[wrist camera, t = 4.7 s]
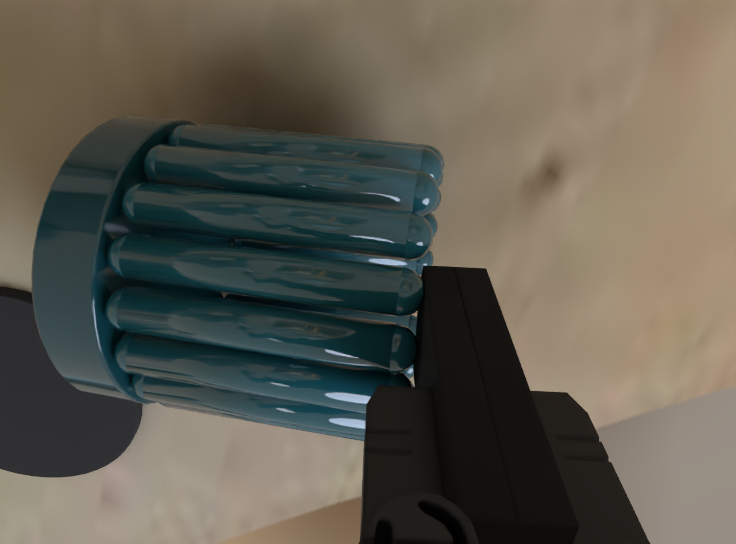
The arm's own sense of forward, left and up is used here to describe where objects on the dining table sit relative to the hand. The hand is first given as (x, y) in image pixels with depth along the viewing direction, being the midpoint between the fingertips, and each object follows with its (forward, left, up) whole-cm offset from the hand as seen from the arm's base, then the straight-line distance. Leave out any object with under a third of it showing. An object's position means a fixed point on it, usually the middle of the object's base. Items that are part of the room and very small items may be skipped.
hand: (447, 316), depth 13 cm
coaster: (+10, -18, -8) cm, 22 cm away
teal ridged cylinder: (0, -4, -7) cm, 8 cm away
